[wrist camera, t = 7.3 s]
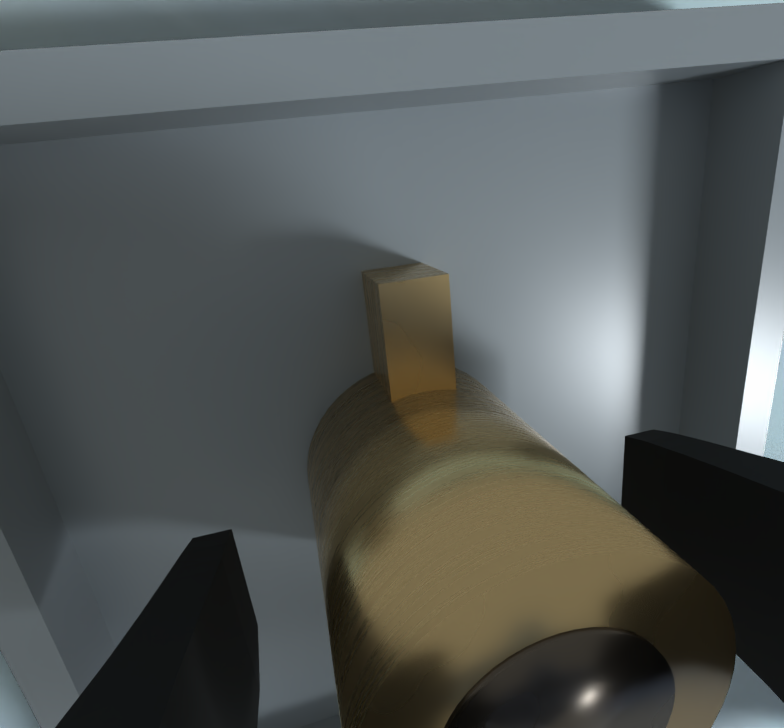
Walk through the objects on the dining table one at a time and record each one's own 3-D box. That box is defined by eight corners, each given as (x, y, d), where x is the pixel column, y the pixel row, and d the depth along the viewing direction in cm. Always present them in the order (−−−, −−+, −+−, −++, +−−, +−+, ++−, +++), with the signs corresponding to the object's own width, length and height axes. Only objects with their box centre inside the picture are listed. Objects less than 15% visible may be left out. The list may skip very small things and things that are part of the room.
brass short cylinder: (509, 521, 12) (717, 801, 6) (324, 567, 11) (378, 936, 6) (502, 250, 10) (810, 318, 4) (270, 284, 9) (270, 421, 3)
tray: (717, 41, 10) (839, -1, 8) (662, 606, 16) (727, 672, 13) (-137, 107, 8) (-305, 69, 5) (147, 766, 13) (122, 883, 11)
